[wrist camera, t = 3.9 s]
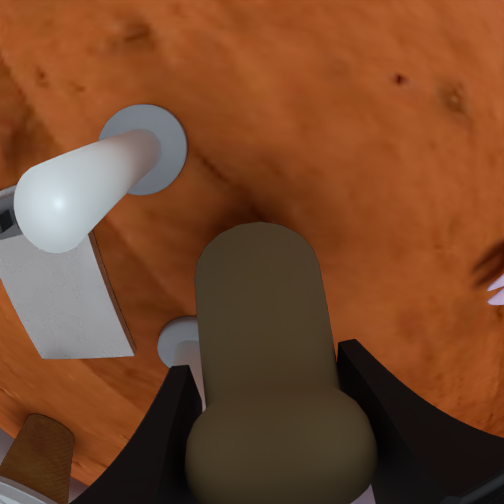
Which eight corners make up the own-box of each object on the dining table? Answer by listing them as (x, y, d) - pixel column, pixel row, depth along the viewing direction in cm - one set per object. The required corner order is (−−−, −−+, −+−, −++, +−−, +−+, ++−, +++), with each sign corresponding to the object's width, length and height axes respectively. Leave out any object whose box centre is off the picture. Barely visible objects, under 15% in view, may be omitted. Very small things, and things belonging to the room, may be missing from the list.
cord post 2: (232, 362, 24) (240, 491, 14) (169, 369, 24) (155, 494, 14) (220, 311, 22) (224, 455, 12) (150, 320, 22) (119, 456, 12)
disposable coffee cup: (5, 412, 27) (-25, 487, 16) (38, 397, 25) (3, 490, 14) (61, 454, 31) (43, 527, 20) (102, 445, 29) (86, 533, 18)
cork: (310, 327, 17) (363, 523, 7) (197, 327, 17) (181, 536, 7) (328, 223, 14) (453, 443, 5) (191, 220, 14) (134, 474, 4)
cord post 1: (194, 182, 18) (161, 283, 8) (113, 197, 18) (17, 301, 8) (180, 96, 16) (116, 83, 6) (96, 116, 16) (-35, 146, 6)
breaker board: (136, 348, 23) (126, 387, 19) (45, 352, 23) (29, 385, 19) (75, 165, 17) (43, 181, 13) (-21, 198, 16) (-55, 218, 13)
